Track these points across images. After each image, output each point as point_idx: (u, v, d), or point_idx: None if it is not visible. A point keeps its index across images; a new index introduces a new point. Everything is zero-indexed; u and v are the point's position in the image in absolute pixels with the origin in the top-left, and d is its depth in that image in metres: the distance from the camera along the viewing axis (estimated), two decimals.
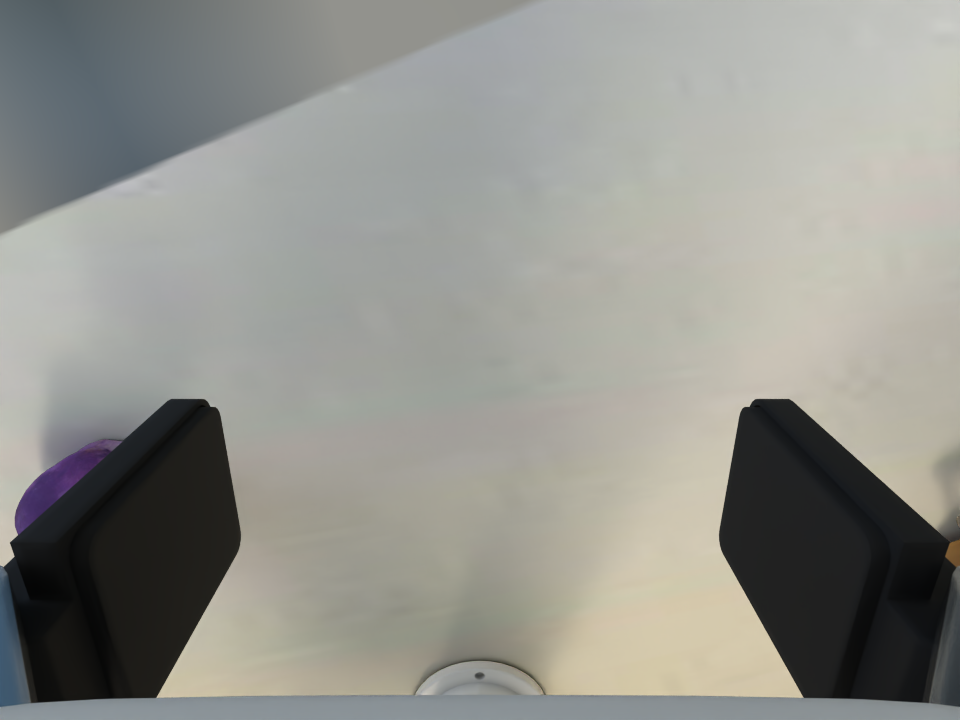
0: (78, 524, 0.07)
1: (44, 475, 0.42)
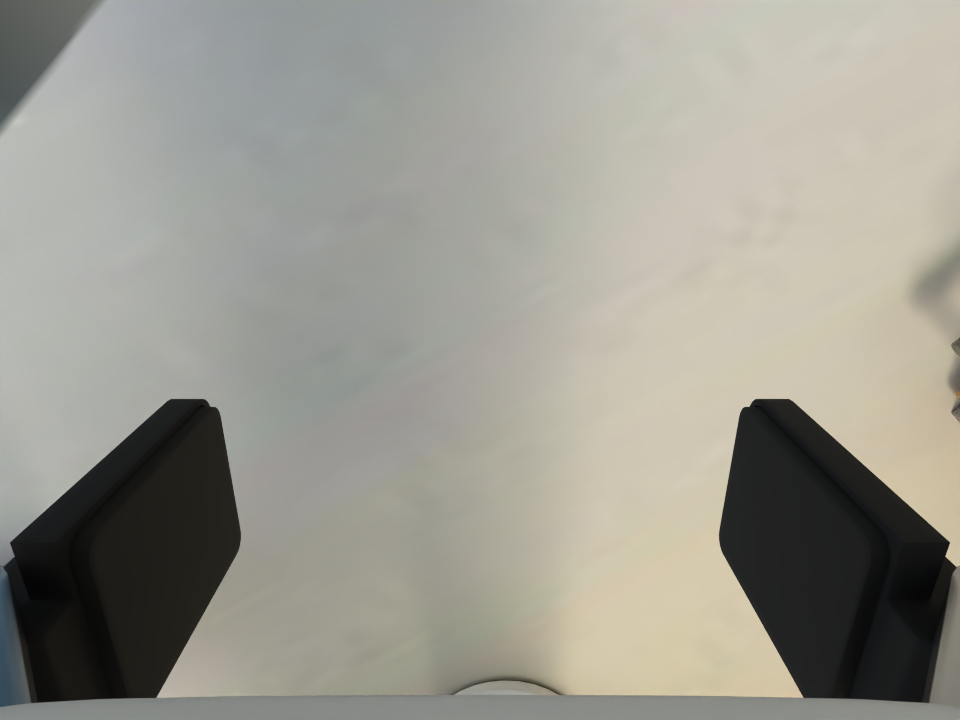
0: (78, 524, 0.07)
1: None
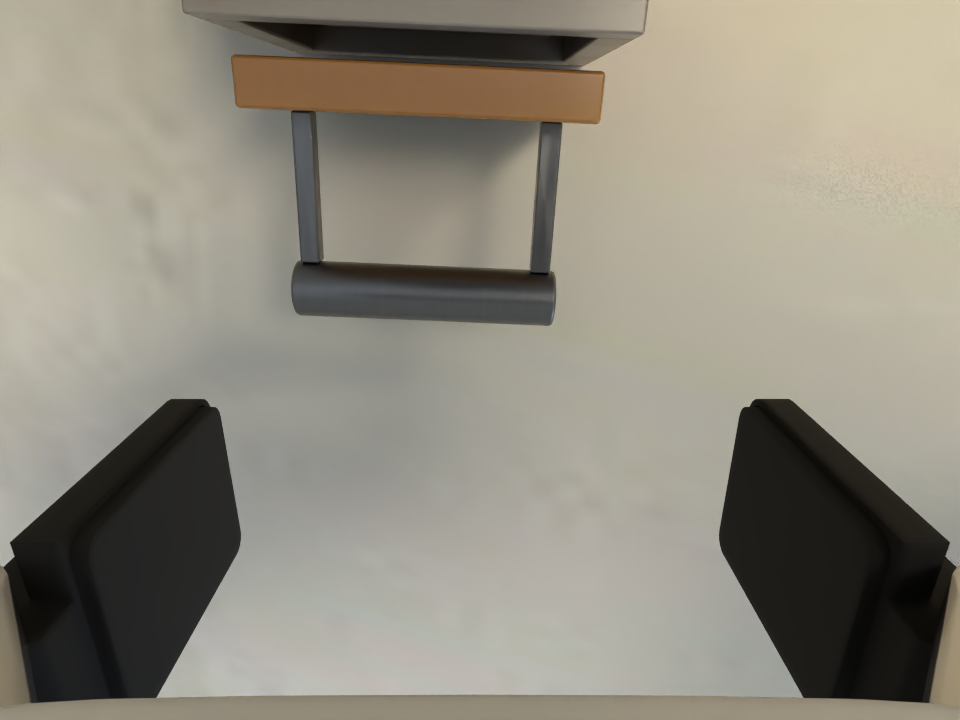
0: (78, 524, 0.07)
1: None
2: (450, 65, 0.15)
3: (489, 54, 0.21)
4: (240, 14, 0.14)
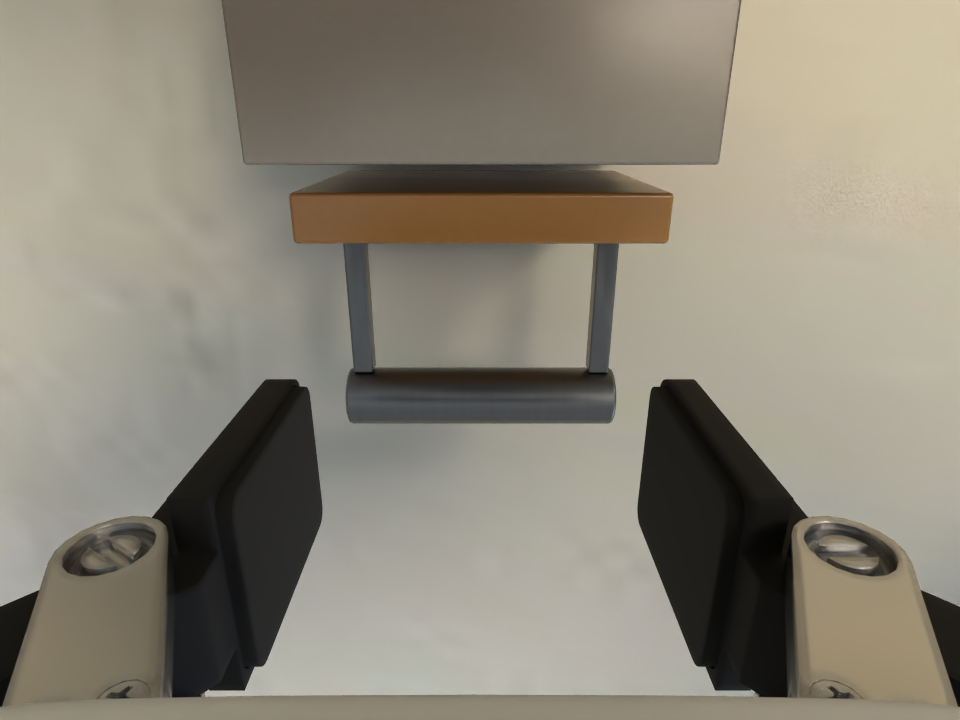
0: (220, 484, 0.08)
1: None
2: (514, 194, 0.14)
3: None
4: (302, 163, 0.13)
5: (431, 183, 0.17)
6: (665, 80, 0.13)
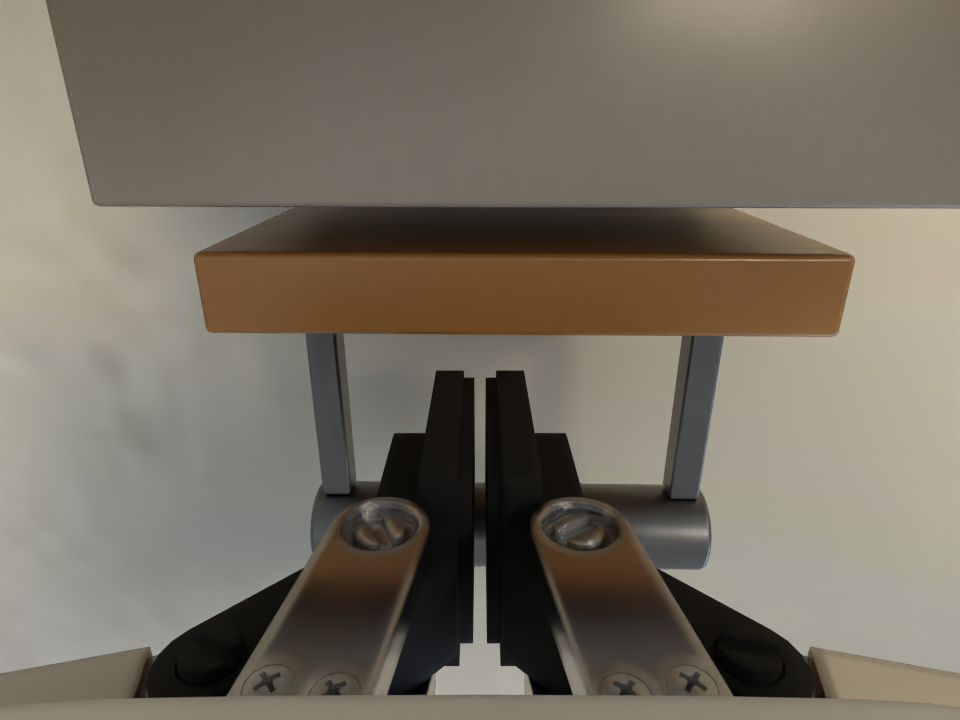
0: (456, 467, 0.08)
1: None
2: (577, 255, 0.08)
3: None
4: (199, 204, 0.07)
5: (437, 224, 0.11)
6: (890, 48, 0.06)
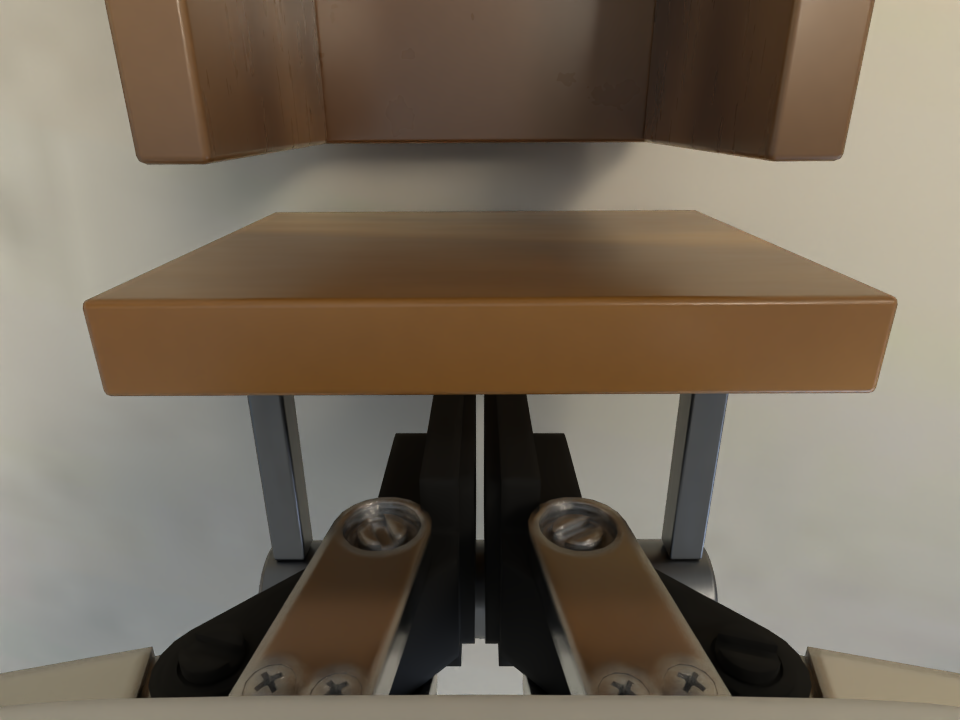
0: (457, 467, 0.08)
1: None
2: (559, 300, 0.07)
3: None
4: None
5: (395, 254, 0.09)
6: None
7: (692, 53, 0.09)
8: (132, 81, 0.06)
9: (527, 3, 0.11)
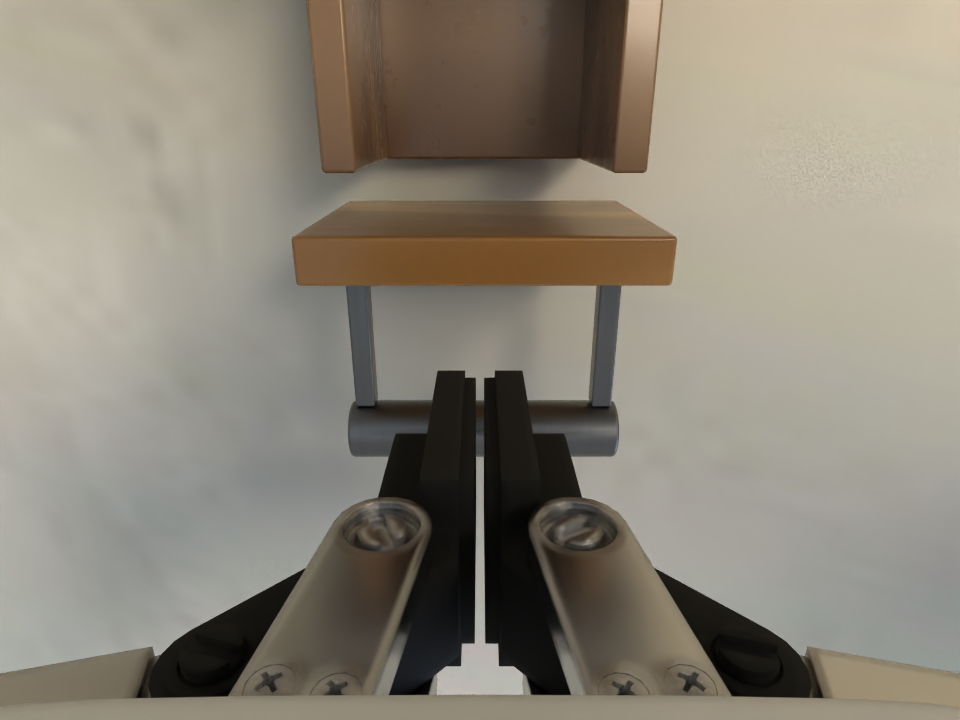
0: (457, 467, 0.08)
1: None
2: (517, 237, 0.14)
3: None
4: None
5: (434, 221, 0.16)
6: None
7: (593, 114, 0.16)
8: (324, 135, 0.14)
9: (508, 78, 0.18)
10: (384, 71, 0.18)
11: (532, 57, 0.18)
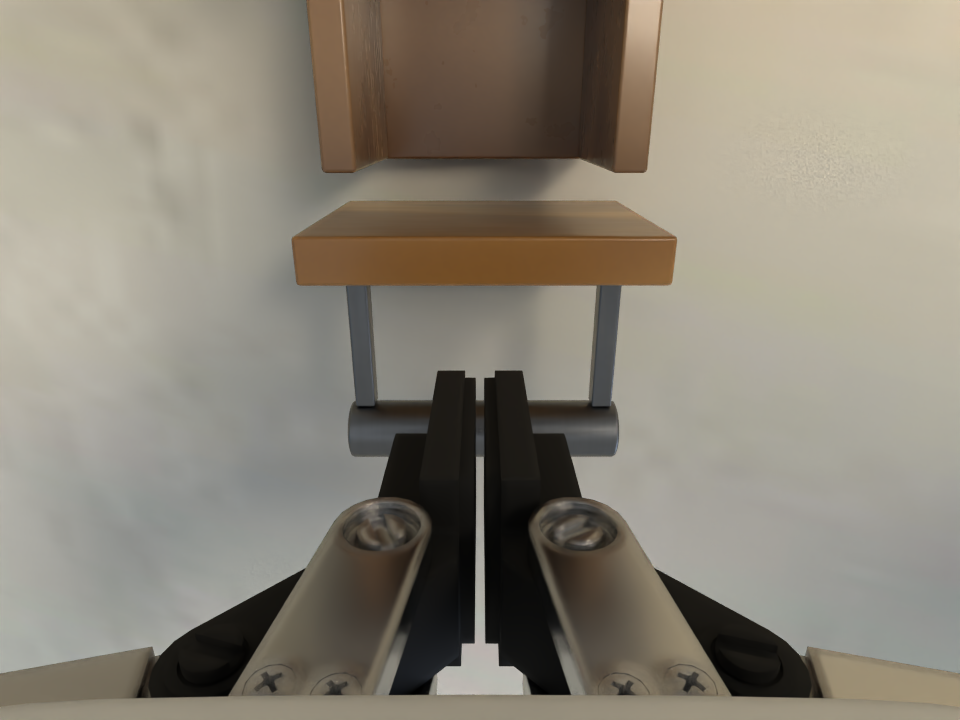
0: (457, 467, 0.08)
1: None
2: (517, 237, 0.14)
3: None
4: None
5: (433, 221, 0.16)
6: None
7: (594, 114, 0.16)
8: (324, 135, 0.14)
9: (508, 78, 0.18)
10: (384, 71, 0.18)
11: (532, 57, 0.18)
